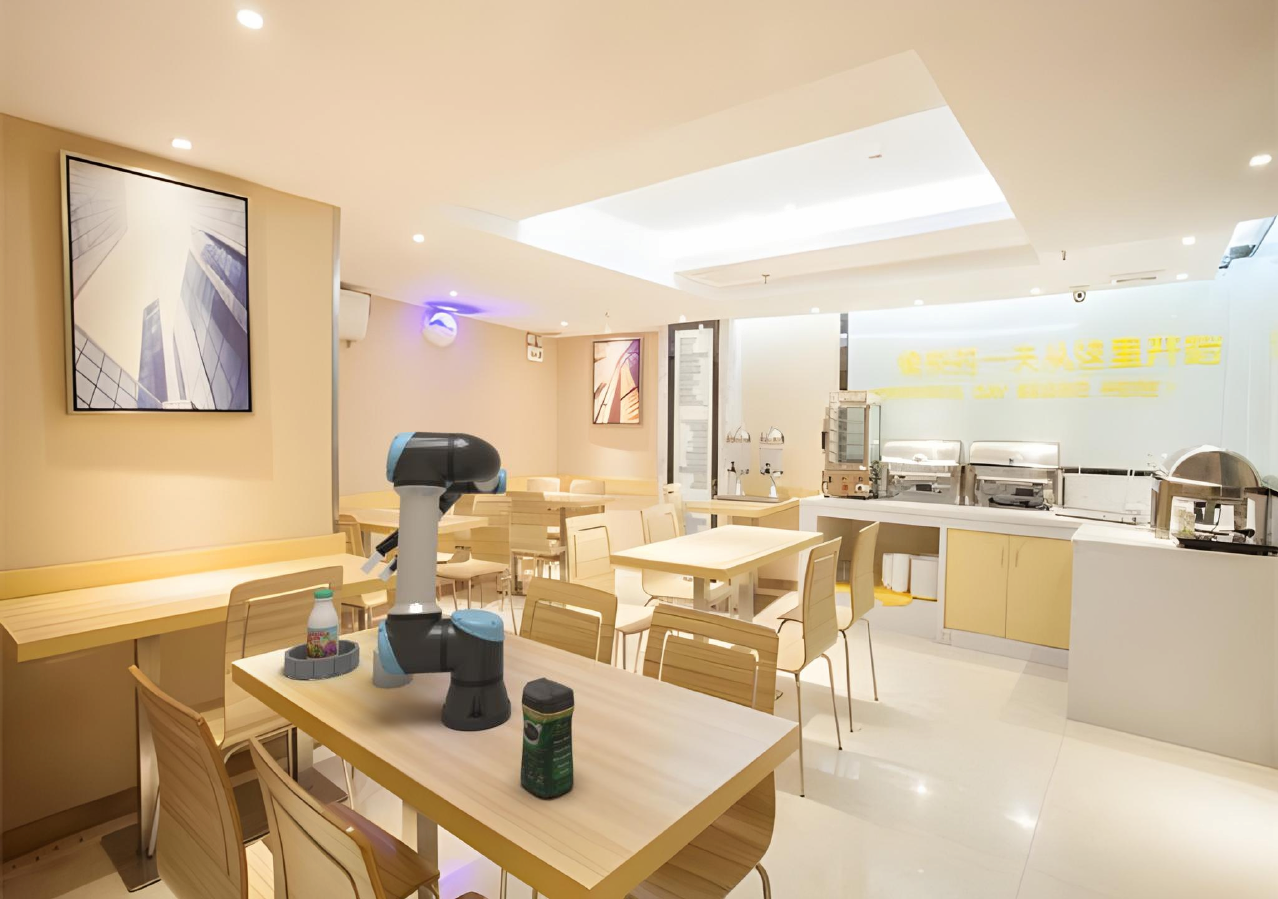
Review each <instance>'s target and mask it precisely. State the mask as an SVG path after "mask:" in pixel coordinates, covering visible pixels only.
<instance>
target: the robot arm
mask: <svg viewBox="0 0 1278 899" xmlns="http://www.w3.org/2000/svg"><path fill="white" fill-rule="evenodd" d="M501 464H502V462H501V456H500V453H499V451H498V450H497V449H496V448H495V447H494V446H493V445H492V444H491V443H490V442H488V441H486V440H484V439H483V438H481V437H479V436H475V435H473V434H469V433H463V432H434V431H433V432H430V431H429V432H427V431H411V432H399V433H398V434H396V435H395V436H394V437H393V439H392V440H391V443H390V446H389V449H388V454H387V458H386V465H385V466H386V467H385V468H386V473H385V475H386V479H387V481H388V482H389V483H393V491H394V492H395V493H396V494H397V495H398V496H399V513H398V514H399V515H398V528H396V530H395V531H394V532H393V533H392V534H390V535H389V536H387V537H386V538H385V539H384V540H382V541H381V542H380V543H378V545H376V546H375V552H374V553H373V554H372V555H371V556H370V557H369V558H368V559H367V560H366V562H365V563H363V564H362V566H361V567H360V568H359V569H360V570H361V571H362V572H364V573H365V574H366V575H369V574H370V572H372V571H373V570H374V568H375V567H376V566H377V565H378V564H379V563H380V562H381V561H382V559H384V558H385V557H386V554H388V553H389V552H391V551H392V550H394V549H396V548H397V554H395V555H394V557H393V558H392V559H391V560H390V561H389V562H388V563H387V564H386V566H384V568H383V569H382V570H381V571H380V573H378V574H377V577H379V579H380V580H382V581H383V582H384V583H386V582H387V581H388V580H389V579H390V578H391V576H392V575H394V573H395V572H396V579H395V580H396V581H395V600H394V601H395V602H394V605H393V606H392V607H391V608H389V610H388V611H387V613H386V619H383V620H381V621H380V622H379V625H378V628H377V630H378V631H377V632H378V633H377V647H378V653H379V659H380V663H381V666H382V668H383V670H384V671H385V672H386V673H388V674H393V675H408V674H413V675H416V674H417V675H418V674H442V673H443V674H444V673H450V674H449V675H450V682H449V688H448V690H447V694H446V697H445V702H444V703H443V705H442V708H441V722H442V723H443V724H444V725H445V726H446V727H448V728H450V729H454V730H459V731H478V730H486V729H491V728H493V727H495V726H496V727H497V726H498V725H501V724H503V723H505V722H506V721H507V720H508V719H510V716H511V714H512V703H511V700H510V698H509V695H508V691H507V687H506V683H505V681H504V667H505V666H504V663H505V661H504V655H505V654H504V652H505V651H504V650H505V648H504V646H505V645H504V644H505V643H504V642H505V639H506V636H505V629H504V628H505V627H504V620H503V618H502V617H501V616H500V615H498V614H497V613H495V612H492V611H487V610H484V609H476V608H465V609H457V610H454V611H453V612H452V613H451V615H450V617H449V618H448V617H447V618H443V609H442V608H441V607H440V606H439V605H438V604H437V602H436V598H437V597H436V595H437V572H438V571H437V569H438V565H437V564H438V542H439V540H438V539H439V522H441V520H442V518H443V517H444V516H445V515H446V513H448V511H449V510H450V509H451V508H452V507H453V505H455V504H456V503H457V501H458V500H460V499H461V498H462V496H463V495H495V496H496V495H504V494H505V493H506V492H507V470H506V469H504V468H501V466H502V465H501Z"/></svg>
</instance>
